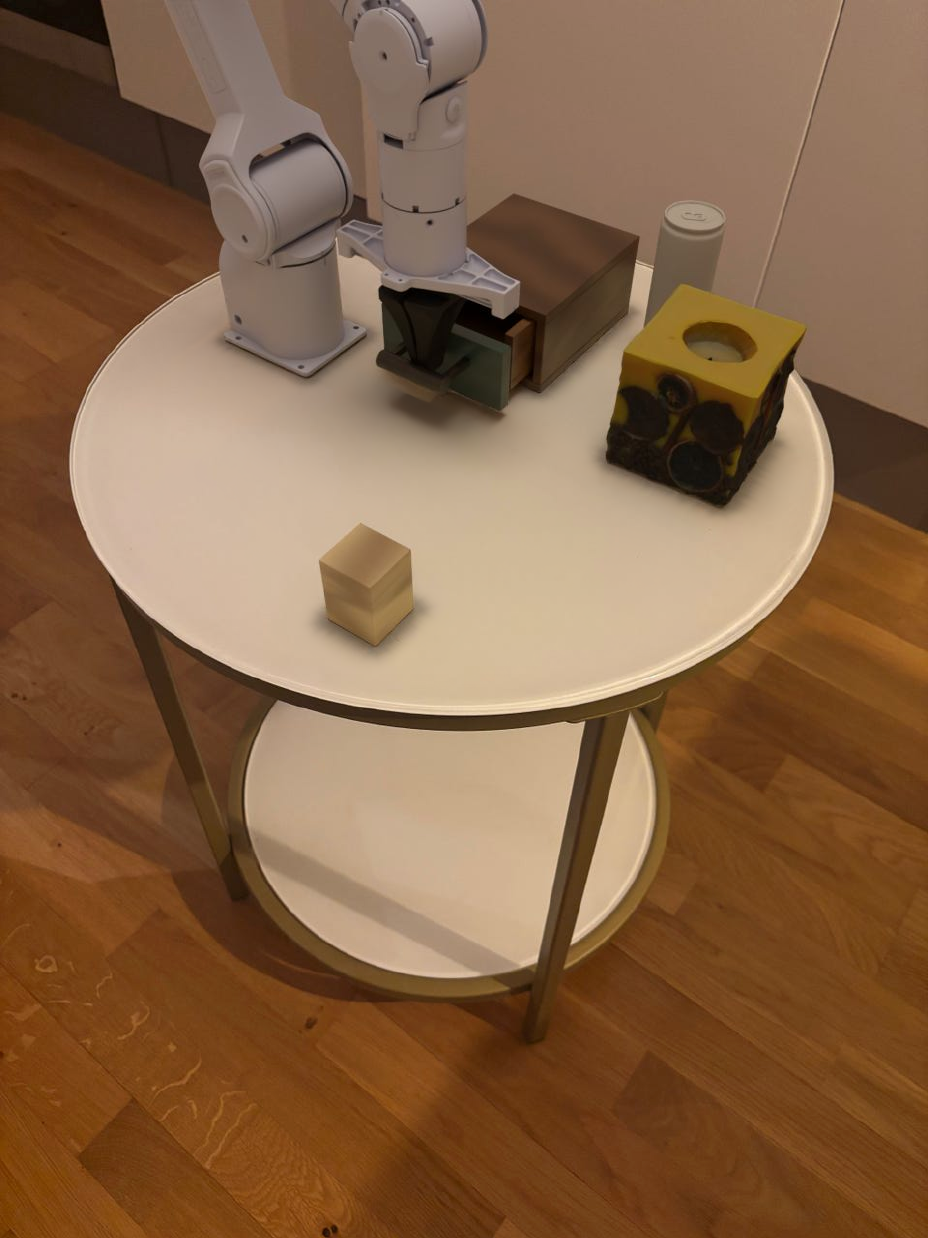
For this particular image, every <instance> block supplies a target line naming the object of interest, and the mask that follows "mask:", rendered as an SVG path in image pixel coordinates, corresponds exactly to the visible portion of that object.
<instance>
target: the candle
mask: <svg viewBox="0 0 928 1238" xmlns="http://www.w3.org/2000/svg"><path fill="white" fill-rule="evenodd" d="M643 327H644V326H643ZM807 329H808V326H807V325H806V324H803V323H802V322H801V321H797V320H794V319H790V318H786V317H783V316H780V315H775V314H772V313H769V312H767V311H764V310H762V309H759V308H756V307H753V306H749V305H746V304H743V303H740V302H737V301H734V300H731V299H729V298H726V297H723V296H720V295H717V294H715V293H712V292H711V293H710V292H706V291H703V290H700V289H697V288H695V287H692V286H689V285H686V284H680V285H679V286H678V287H677V288H676V289H675V291H674V292H673V294H672V295H671V296H670V297H669V298H668V300H667V301H666V302H665V303H664V305H663V306H662V307H661V309H660V310H659V311H658V312H657V313H656V315H655V316H654V317H653V318H652V319H651V320H650V322H649V323H648V324H647V325H646V326H645V327H644V328H642V329H641V331H640V332H638V334H637V335H636V336H635V337H634V338H633V339H632V340H631V341H630V342H629V343H628V345H627V346H626V347H625V348H624V350H623V351H622V358H621V363H620V368H621V369H620V374H619V378H618V380H619V383H618V387H617V390H616V395H615V402H614V407H613V411H612V415H611V418H610V420H609V427H608V430H607V433H606V438H605V439H606V446H607V447H606V451H605V458H606V460H607V461H608V462H609V463H610V464H615V465H618V466H621V467H622V468H624V469H626V470H628V471H631V472H634V473H637V474H639V475H643V476H645V477H646V478H647V479H649V480H651V481H655V482H657V483H660V484H663V485H665V486H667V487H670V488H672V489H673V488H674V489H676V490H679V491H682V492H683V493H685V494H686V495H691V496H696V497H697V498H699V499H701V500H703V501H705V502H707V503H710V504H712V505H714V506H716V507H721V508H723V507H725V506H727V504H728V503H729V502H730V501H731V500H732V499H733V497H734V495H735V493H737V492H738V491H739V490H740V488H741V486H742V484H743V482H745V480H746V478H747V477H748V474H749V473H750V472H751V471H752V470H753V468H754V466H755V465H757V464H758V461H757V460H758V459H759V458H760V456H761V454H762V453H763V452H764V451H765V449H766V447H767V446H768V444H769V443H770V442H771V441H772V440H774V439H775V437H776V434H777V429H778V425H779V422H780V420H781V417H782V416H783V412H784V409H785V400H784V399H785V395H786V391H787V388H788V387H787V386H788V382H789V378H790V375H791V374H792V373H793V372H794V371H795V361H794V359H795V357H796V354H797V351H798V349H799V348H800V345H801V344H802V341H803V339H804V337H805V334H806V332H807Z"/></svg>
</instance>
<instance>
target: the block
mask: <svg viewBox="0 0 928 1238" xmlns="http://www.w3.org/2000/svg"><path fill="white" fill-rule="evenodd" d="M318 565H319V571H320V578H321V585H322V593H323V597H324V604H325V612H326V618H327V619H328V620H329V621H331V622H332V623H334V624H336V625H338V626H339V627H341V628H343V629H345V630H346V631H347V632H350V633H351V634H353V635H354V636H356V637H358V638H359V639H362V640H363V641H365V642H366V643H368V644H370V645H371V646H373V647H377V646H378V645H379V644H380V643H381V642H382V641H383V640H384V639H385V638H386V637H387V636H388V635H389V634H390V633H391V632H392V631H393V630H394V629H395V628H396V627H397V626H398V625H399V624H400V623H401V622H402V621H403V620H404V618H406V617H407V616H408V614H409V613H410V612H412V611H413V610H414V608H415V607H414V587H413V586H414V585H413V568H412V567H413V566H412V550H411V549H410V548H409V547H407V546H406V545H403V544H402V543H400V542H397V541H396V540H394V539H392V538H391V537H388V536H386V535H385V534H383V533H380V532H379V531H377V530H375V529H373V528H371V527H369V526H367V525H366V524H363V523H361V522H360V523H358V524H357V525H356V526H355V527H354V528H353V529H352V530H351V531H350V532H348V533H347V534H346V535H345V536H344V537H343V538H342V539H341V540H339V541H338V542H337V543H336V544H335V545H334V546H333V547H331V549H329V550H328V551H327V552H326V553H325V554H324V555H322V556H321V557H320V558H319V559H318Z"/></svg>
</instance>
